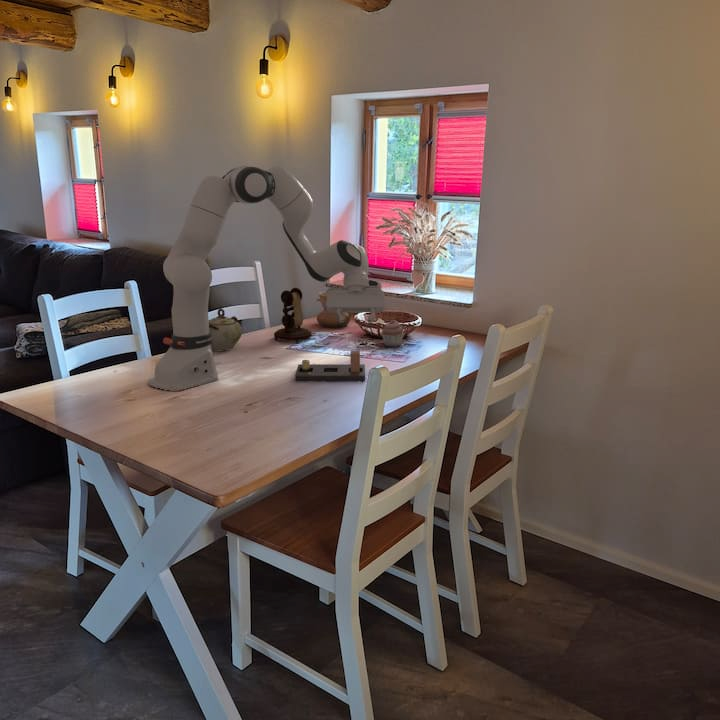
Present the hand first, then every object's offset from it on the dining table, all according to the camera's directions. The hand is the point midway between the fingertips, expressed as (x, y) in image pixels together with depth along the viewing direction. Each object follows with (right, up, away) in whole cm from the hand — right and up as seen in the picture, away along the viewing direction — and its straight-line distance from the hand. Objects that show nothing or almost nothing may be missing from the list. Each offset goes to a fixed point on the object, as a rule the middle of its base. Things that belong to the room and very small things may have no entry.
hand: (355, 321), depth 207 cm
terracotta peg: (0, -18, -7) cm, 19 cm away
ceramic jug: (-10, +2, +60) cm, 61 cm away
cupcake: (+14, -7, +29) cm, 33 cm away
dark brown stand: (-25, -5, +38) cm, 45 cm away
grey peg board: (-8, -18, -7) cm, 21 cm away
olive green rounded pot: (-50, -9, +25) cm, 56 cm away
